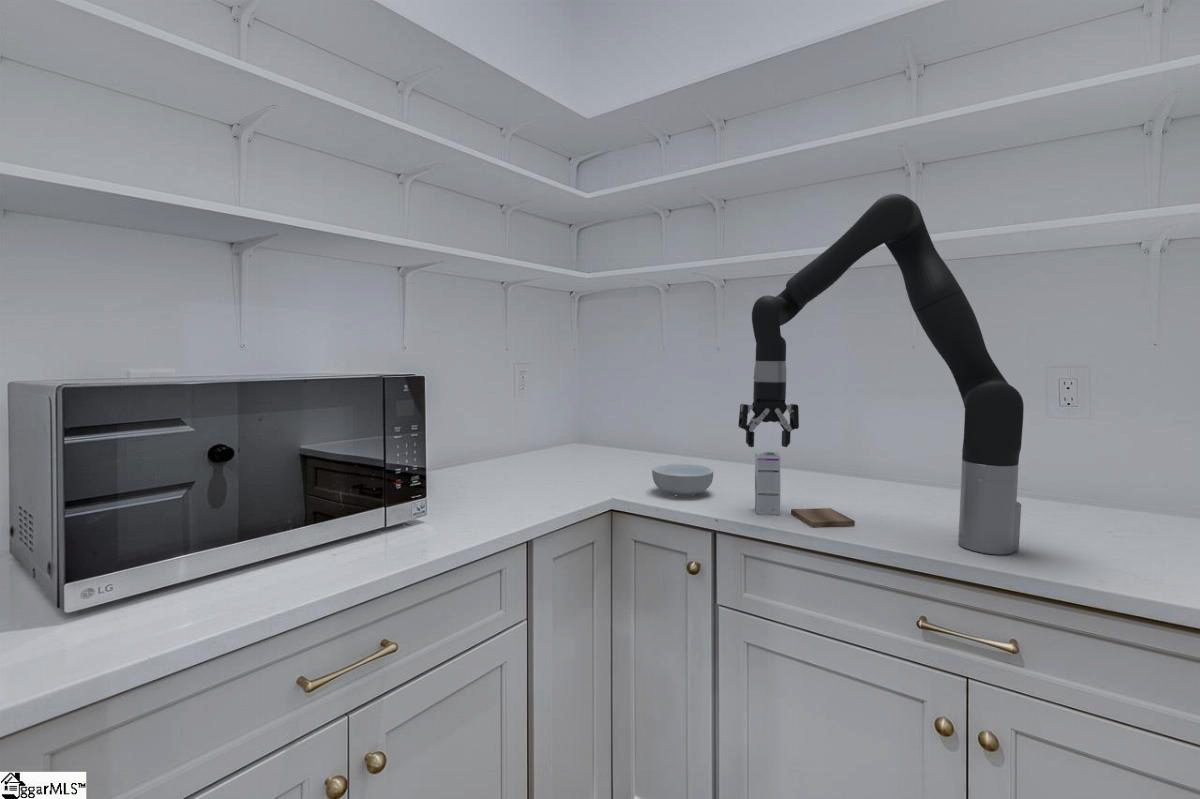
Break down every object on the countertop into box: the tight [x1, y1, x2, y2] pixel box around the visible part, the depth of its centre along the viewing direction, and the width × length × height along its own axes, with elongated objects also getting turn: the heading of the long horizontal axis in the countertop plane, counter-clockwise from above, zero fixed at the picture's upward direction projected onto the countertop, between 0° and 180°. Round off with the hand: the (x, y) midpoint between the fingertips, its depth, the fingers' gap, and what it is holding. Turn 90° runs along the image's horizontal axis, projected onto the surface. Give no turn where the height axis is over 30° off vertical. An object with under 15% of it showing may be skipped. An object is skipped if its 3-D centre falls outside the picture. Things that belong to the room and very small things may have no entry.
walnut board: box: [790, 507, 856, 528], centre depth 134 cm, size 10×11×1 cm
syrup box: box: [754, 451, 781, 516], centre depth 140 cm, size 6×6×14 cm
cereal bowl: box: [651, 462, 714, 497], centre depth 160 cm, size 17×17×7 cm
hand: (767, 446), depth 139 cm, fingers open, 8 cm apart
